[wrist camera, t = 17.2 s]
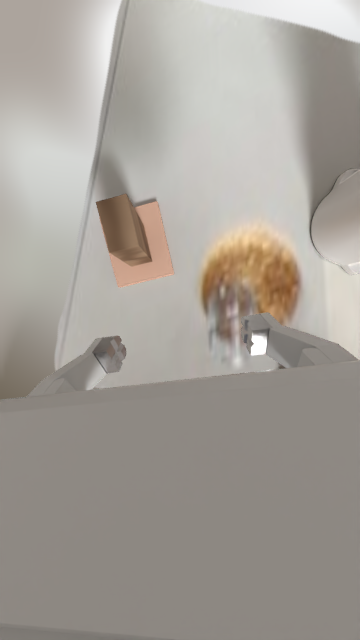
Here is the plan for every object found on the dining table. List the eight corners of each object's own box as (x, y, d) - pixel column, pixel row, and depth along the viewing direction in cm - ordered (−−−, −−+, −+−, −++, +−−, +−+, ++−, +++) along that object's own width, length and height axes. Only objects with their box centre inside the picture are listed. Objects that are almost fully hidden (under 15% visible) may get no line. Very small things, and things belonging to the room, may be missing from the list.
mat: (158, 204, 30) (157, 201, 29) (174, 274, 32) (173, 273, 31) (102, 219, 31) (99, 217, 30) (120, 287, 33) (118, 287, 32)
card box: (144, 225, 30) (126, 193, 21) (152, 261, 31) (138, 245, 22) (122, 231, 30) (95, 202, 21) (131, 266, 31) (109, 252, 22)
